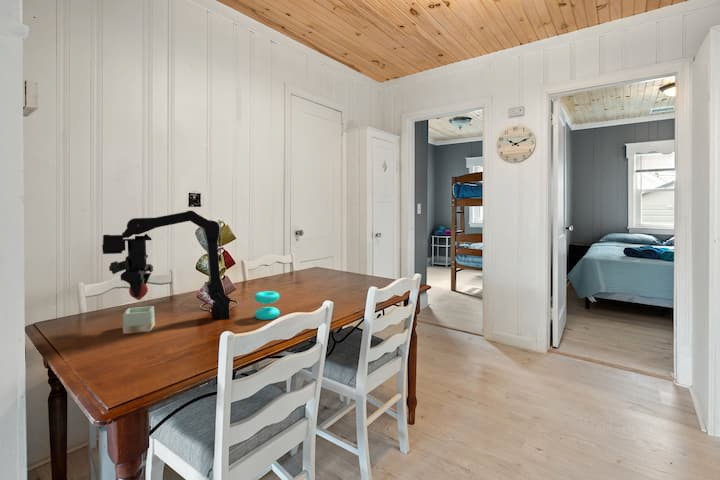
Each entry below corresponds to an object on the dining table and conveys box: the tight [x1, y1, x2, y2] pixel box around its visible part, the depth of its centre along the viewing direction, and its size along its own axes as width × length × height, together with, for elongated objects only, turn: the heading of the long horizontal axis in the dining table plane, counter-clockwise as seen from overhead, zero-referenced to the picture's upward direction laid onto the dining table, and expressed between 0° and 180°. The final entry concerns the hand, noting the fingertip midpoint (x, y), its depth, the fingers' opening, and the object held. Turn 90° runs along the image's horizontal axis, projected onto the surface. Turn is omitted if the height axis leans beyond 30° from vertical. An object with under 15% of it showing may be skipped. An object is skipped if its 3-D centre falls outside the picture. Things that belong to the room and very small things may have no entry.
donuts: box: [254, 290, 280, 321], centre depth 154 cm, size 10×10×10 cm
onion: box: [128, 282, 149, 301], centre depth 137 cm, size 6×6×8 cm
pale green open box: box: [122, 305, 156, 328], centre depth 137 cm, size 8×8×4 cm
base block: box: [122, 318, 156, 334], centre depth 138 cm, size 8×8×3 cm
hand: (138, 295), depth 137 cm, fingers closed on onion, 6 cm apart
